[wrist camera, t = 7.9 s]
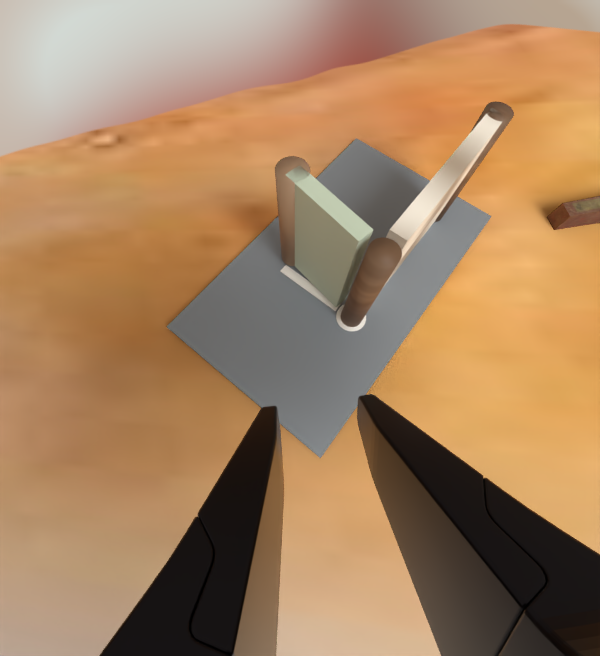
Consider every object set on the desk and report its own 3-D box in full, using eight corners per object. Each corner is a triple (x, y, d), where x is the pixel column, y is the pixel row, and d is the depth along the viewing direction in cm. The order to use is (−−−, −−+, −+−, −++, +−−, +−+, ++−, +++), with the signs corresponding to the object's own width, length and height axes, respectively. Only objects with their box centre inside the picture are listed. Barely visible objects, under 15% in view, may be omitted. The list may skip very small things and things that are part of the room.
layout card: (320, 457, 19) (320, 458, 18) (168, 328, 21) (165, 326, 21) (489, 218, 25) (492, 215, 25) (355, 141, 28) (356, 137, 27)
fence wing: (349, 296, 22) (379, 225, 14) (331, 310, 21) (352, 246, 14) (294, 241, 23) (294, 150, 15) (276, 254, 23) (267, 168, 15)
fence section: (353, 331, 21) (389, 273, 13) (335, 318, 22) (360, 254, 13) (445, 213, 25) (518, 110, 17) (429, 203, 25) (493, 97, 17)
